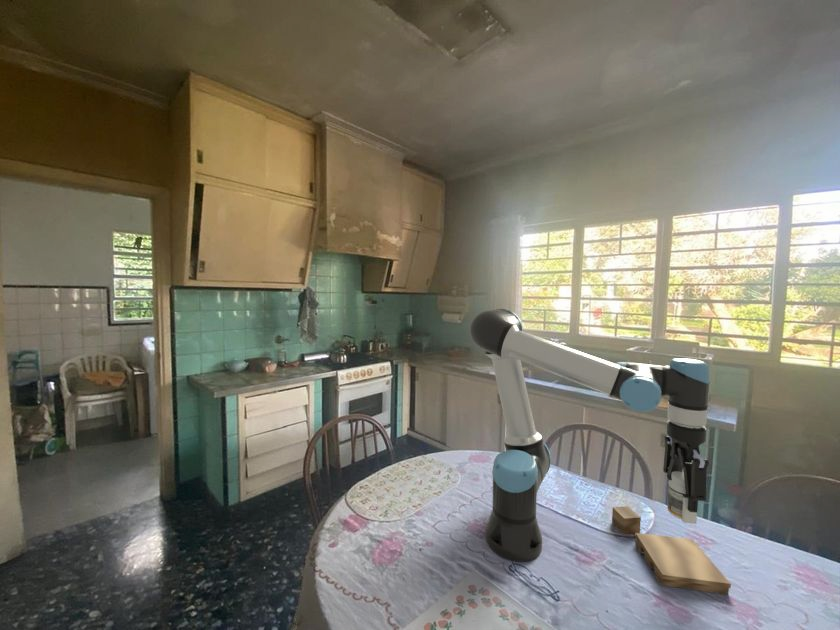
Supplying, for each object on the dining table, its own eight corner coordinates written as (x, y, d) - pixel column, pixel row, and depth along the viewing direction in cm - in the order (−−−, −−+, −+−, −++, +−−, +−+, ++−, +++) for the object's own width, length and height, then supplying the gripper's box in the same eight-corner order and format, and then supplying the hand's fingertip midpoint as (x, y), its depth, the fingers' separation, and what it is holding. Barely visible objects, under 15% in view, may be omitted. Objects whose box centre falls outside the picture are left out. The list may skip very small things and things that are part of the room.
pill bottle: (685, 507, 86) (687, 470, 86) (702, 523, 81) (704, 483, 80) (662, 506, 87) (663, 469, 86) (676, 521, 81) (678, 481, 80)
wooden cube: (623, 535, 96) (624, 518, 96) (611, 523, 101) (612, 507, 101) (639, 534, 96) (640, 517, 96) (627, 522, 101) (628, 506, 101)
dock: (661, 586, 79) (662, 574, 79) (634, 543, 93) (635, 532, 93) (729, 596, 77) (730, 583, 76) (691, 549, 90) (692, 539, 90)
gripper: (732, 440, 72) (725, 543, 74) (681, 410, 91) (676, 492, 92) (692, 437, 74) (686, 538, 75) (650, 408, 92) (646, 490, 94)
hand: (681, 513), depth 84 cm, fingers closed on pill bottle, 6 cm apart
